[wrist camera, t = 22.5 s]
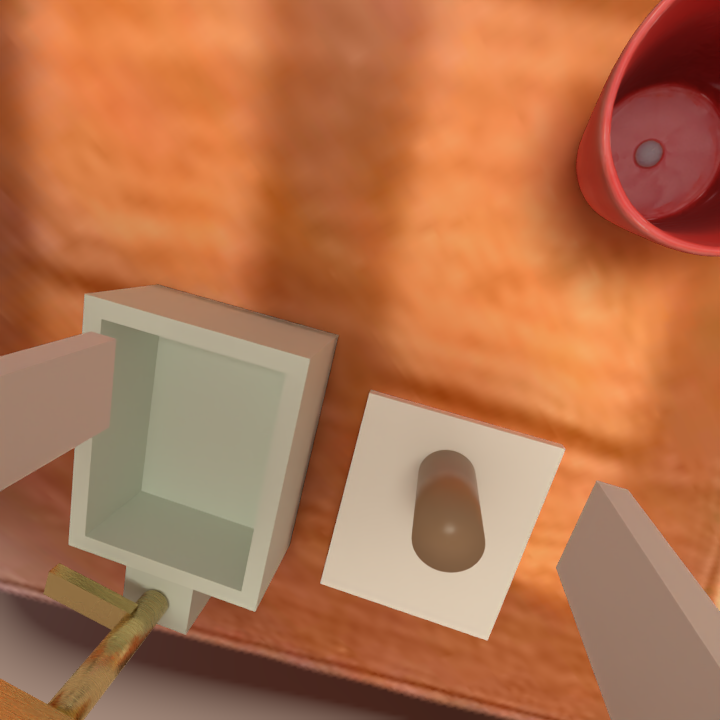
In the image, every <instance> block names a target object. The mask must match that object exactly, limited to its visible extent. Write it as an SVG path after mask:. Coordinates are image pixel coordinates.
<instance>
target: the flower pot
mask: <svg viewBox="0 0 720 720" xmlns="http://www.w3.org/2000/svg"><path fill="white" fill-rule="evenodd" d="M576 171H577V179H578V183H579V187H580V190H581V192H582V194H583V196H584V198H585V200H586V201H587V203H588V204H589V205H590V207H591V208H592V209H593V210H594V211H595V212H596V213H598V214H599V215H600V216H602V217H603V218H605V219H606V220H608V221H610V222H612V223H613V224H615V225H617V226H619V227H621V228H623V229H625V230H627V231H629V232H632V233H634V234H637V235H639V236H641V237H644V238H646V239H648V240H650V241H653V242H655V243H658V244H660V245H663V246H665V247H668V248H671V249H674V250H678V251H681V252H685V253H690V254H695V255H702V256H719V257H720V0H661V1H660V2H659V3H658V4H657V5H656V6H655V8H654V9H653V10H652V11H651V12H650V13H649V14H648V16H647V17H646V18H645V19H644V21H643V22H642V23H641V25H640V26H639V27H638V28H637V30H636V31H635V33H634V34H633V36H632V37H631V39H630V40H629V41H628V43H627V45H626V46H625V48H624V50H623V51H622V53H621V55H620V57H619V58H618V60H617V62H616V64H615V66H614V68H613V69H612V71H611V73H610V75H609V77H608V79H607V82H606V84H605V86H604V88H603V90H602V92H601V95H600V97H599V99H598V101H597V103H596V106H595V108H594V110H593V112H592V115H591V117H590V120H589V122H588V124H587V127H586V129H585V131H584V134H583V137H582V139H581V142H580V145H579V148H578V154H577V162H576Z"/></svg>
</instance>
